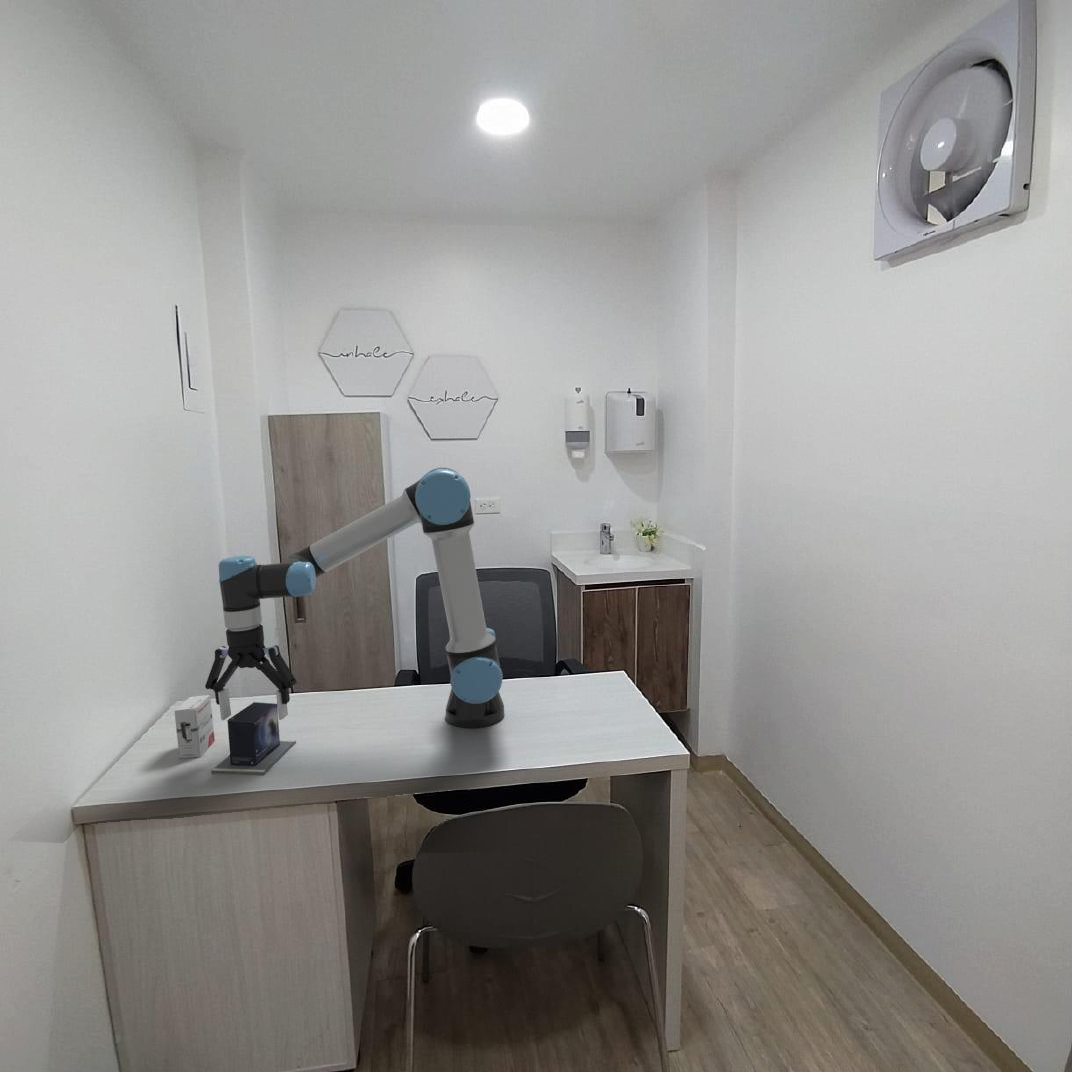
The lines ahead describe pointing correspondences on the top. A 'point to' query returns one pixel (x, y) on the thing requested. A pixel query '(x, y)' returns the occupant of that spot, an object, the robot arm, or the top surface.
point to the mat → (260, 767)
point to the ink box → (194, 726)
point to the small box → (253, 733)
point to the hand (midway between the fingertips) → (254, 717)
